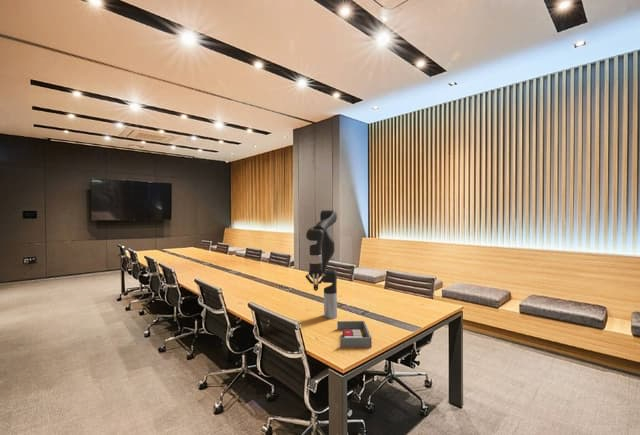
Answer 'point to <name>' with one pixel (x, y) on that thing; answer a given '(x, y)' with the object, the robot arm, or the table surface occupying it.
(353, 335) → the calculator
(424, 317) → the table surface
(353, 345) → the box
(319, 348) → the table surface
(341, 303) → the table surface
